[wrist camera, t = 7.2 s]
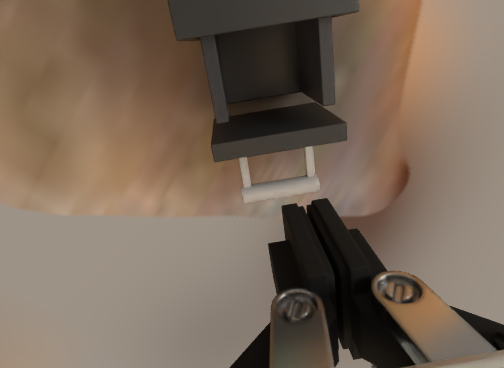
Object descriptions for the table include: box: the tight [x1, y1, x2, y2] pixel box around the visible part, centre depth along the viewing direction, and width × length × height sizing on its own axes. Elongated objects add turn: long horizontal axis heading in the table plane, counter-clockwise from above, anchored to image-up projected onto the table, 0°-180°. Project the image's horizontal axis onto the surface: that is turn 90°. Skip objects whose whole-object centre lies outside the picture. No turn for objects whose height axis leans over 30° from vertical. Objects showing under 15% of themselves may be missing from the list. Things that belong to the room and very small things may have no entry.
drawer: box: [200, 17, 347, 204], centre depth 23 cm, size 17×9×8 cm, turn 8°
